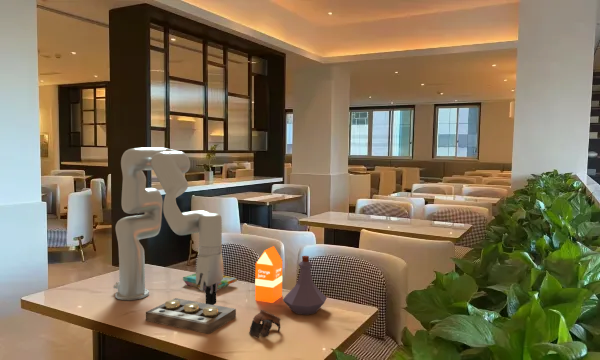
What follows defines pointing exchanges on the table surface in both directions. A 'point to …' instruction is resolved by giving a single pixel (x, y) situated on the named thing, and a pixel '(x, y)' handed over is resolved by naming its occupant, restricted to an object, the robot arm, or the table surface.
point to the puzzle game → (225, 282)
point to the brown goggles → (263, 323)
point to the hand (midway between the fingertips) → (210, 303)
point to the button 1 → (172, 305)
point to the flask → (305, 292)
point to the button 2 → (210, 312)
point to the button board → (191, 317)
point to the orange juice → (268, 276)
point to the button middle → (191, 308)
